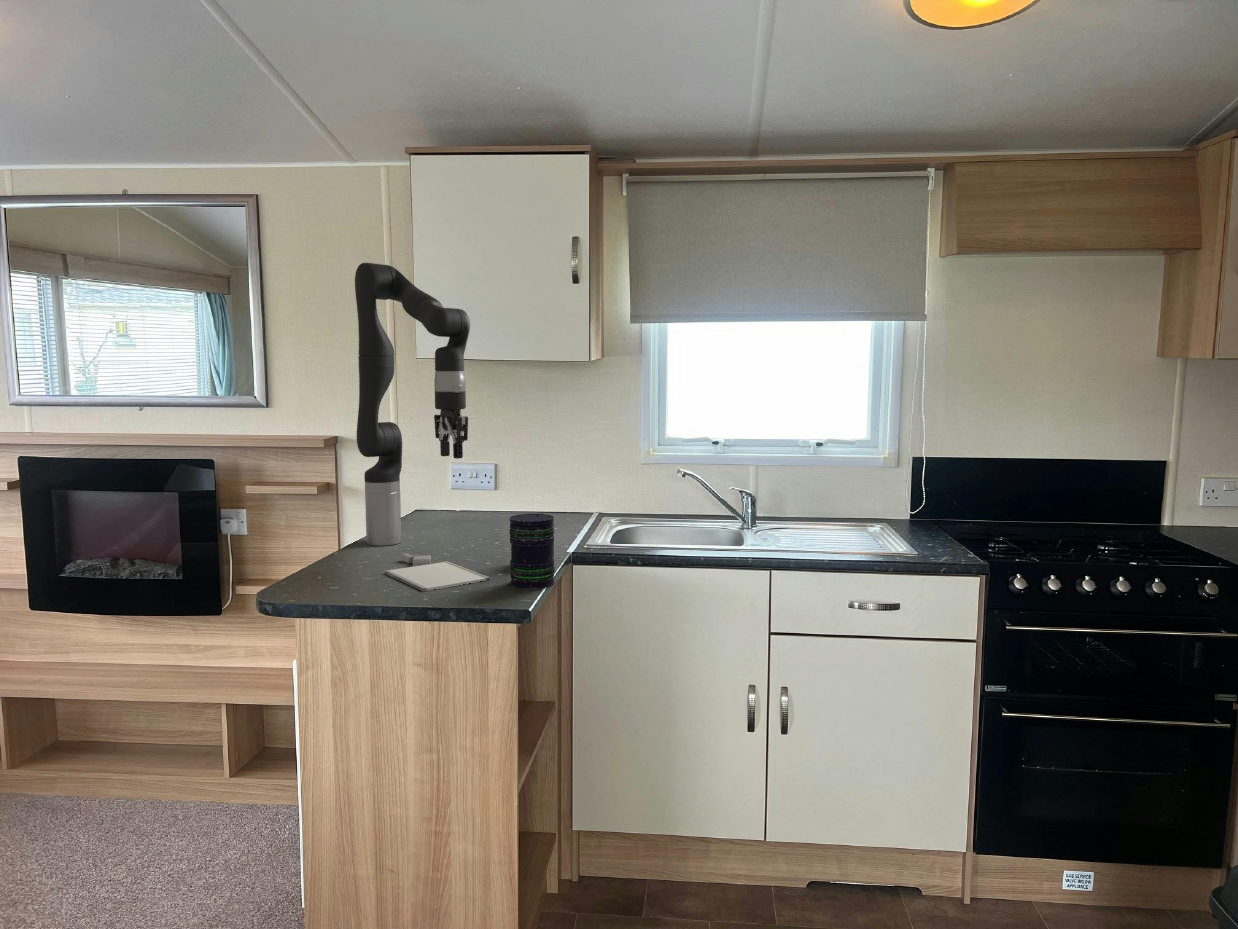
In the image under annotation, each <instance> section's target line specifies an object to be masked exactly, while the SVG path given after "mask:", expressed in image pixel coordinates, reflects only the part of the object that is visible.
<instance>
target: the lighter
mask: <svg viewBox="0 0 1238 929" xmlns="http://www.w3.org/2000/svg"><path fill="white" fill-rule="evenodd" d="M401 561H402V562H404V563H407V564H412V567H414V566H421V565H428V564H432V557H431V555H430V554H429V555H412V554H410V553H402V554H401Z"/></svg>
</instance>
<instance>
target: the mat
mask: <svg viewBox="0 0 1238 929" xmlns="http://www.w3.org/2000/svg"><path fill="white" fill-rule="evenodd" d="M384 574H385V575H387V576H390V577H391V578H393V579H396V580H398V581H400V582H402V583H404V584H406V585H409V586H411V587H413V588H415V589H417V590H419V591H420V592H429V591H435V590H434V589H436V590H440V589H446V588H452V587H453V586H454V587H458V586H459V585H460V586H464V585H463V584H465V585H470V584H469V583H471V584H476V583H481V582H480V581H483V582H487V581H488V580H489V581H490V576H487V575H484V574H481V573H479V572H477V571H474V570H472V569H468V568H466V567H463V566H460V565H459V564H455V563H453V562H451V561H447V560H445V561H442V562H436V563H431V564H428V565H421V566H414V567H413V566H409V567H401V568H394V569H385V570H384Z"/></svg>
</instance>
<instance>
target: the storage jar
mask: <svg viewBox="0 0 1238 929" xmlns="http://www.w3.org/2000/svg"><path fill="white" fill-rule="evenodd" d="M554 519H555V517H554V515H552V514H551V515H550V514H547V513H523V514H516V515H514V514H513V515H511V516H510V517H509V533H508V534H509V543H510V551H511V555H510V561H509V562H510V563H509V564H510V566H509V574H510V580H511V581H510V586H511V588H515V589H520V590H541V589H548V588H550V587H553V586H554V585H555V580H554V577H555V574H554V573H555V572H556V571H555V558H554V559H553V542H554V543H555V535H554V534H555V528H554V527H555V523H554Z"/></svg>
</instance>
